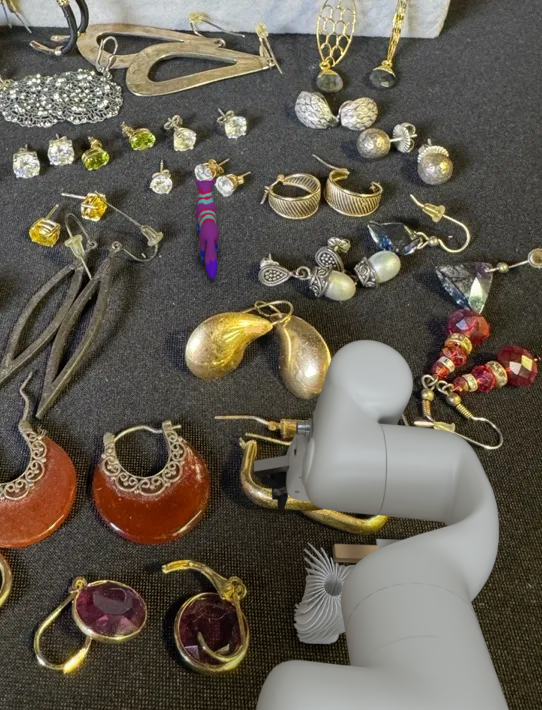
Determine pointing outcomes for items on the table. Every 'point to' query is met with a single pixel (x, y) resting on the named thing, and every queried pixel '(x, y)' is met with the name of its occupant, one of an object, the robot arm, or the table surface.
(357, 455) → the robot arm
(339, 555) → the spatula
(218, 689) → the table surface
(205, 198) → the purple striped elongated piece
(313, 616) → the shell sculpture
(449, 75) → the table surface
